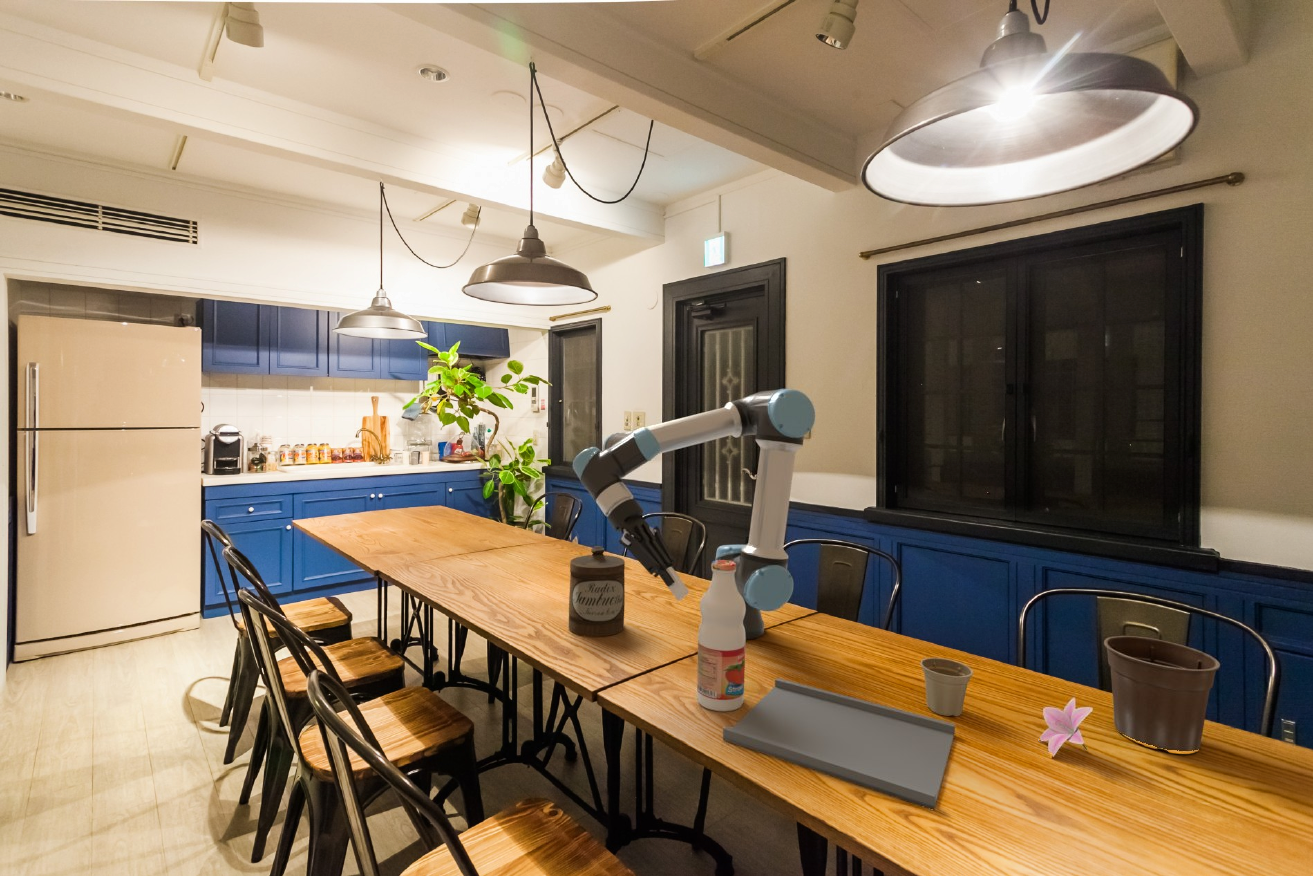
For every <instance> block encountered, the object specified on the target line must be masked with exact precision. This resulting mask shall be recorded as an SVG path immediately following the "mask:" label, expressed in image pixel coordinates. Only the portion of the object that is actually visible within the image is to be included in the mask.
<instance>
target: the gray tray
mask: <svg viewBox="0 0 1313 876" xmlns="http://www.w3.org/2000/svg"><path fill="white" fill-rule="evenodd" d="M722 730H723V732H722V740H723V741H725V742H728V743H731V744H734V745H737V746H740V747H743V748H746V749H749V750H752V751H756V752H758V753H761V754H764V755H767V756H770V757H772V758H776V759H778V760H782V761H785V762H788V763H790V764H794V765H798V766H800V767H802V768H805V769H807V770H808V769H809V770H812V771H814V772H818V773H821V774H825V775H826V776H829V777H833V778H835V779H839V780H842V781H845V782H848V783H851V784H854V785H857V786H859V787H863V788H866V789H868V790H872V791H875V792H878V793H881V794H884V795H887V796H890V797H893V798H896V799H899V800H902V801H905V802H907V803H911V804H914V805H916V804H917V806H919V805H920V806H919V807H922V806H924V807H923V808H926V809H928V808H930V809H929V810H931V809H933V810H932V811H935V809H936V806H937V802H936V801H938V797H939V795H940V791H939V790H941V787H942V783H943V780H944V776H943V775H945V771H946V769H945V768H947V765H946V764H948V761H949V757H948V756H950V754H949V753H951V750H950V749H952V746H951V745H953V743H954V739H955V735H956V734H955V732H956V724H955V723H953V722H950V721H949V722H948V721H945V720H940V719H936V718H933V717H930V716H925V715H921V714H917V713H914V712H909V711H906V710H902V709H897V708H895V707H892V706H891V707H890V706H886V705H883V704H880V703H879V704H878V703H876V702H872V701H867V700H865V699H864V700H863V699H859V698H856V697H852V696H847V695H844V694H840V693H836V692H832V691H829V690H826V689H821V688H817V687H813V686H810V685H805V684H803V683H802V684H801V683H799V682H795V681H791V680H786V679H783V678H779V677H777V678H775V680H774V687H772V689H770V691H768V692H767V693H766V695H764V696H763V697H762V699H760V700H759V701H758V702H757V703H756V704H755V705H753V707H752V708H751V709H750V710H749V711H748V712H747V713H746V714H744V716H742V718H741V719H739V721H738V722H736V723H735V725H733V726H727V725H726V726H725V727H724V728H723V729H722ZM954 734H955V735H954ZM953 738H954V739H953ZM952 742H953V743H952ZM947 760H948V761H947ZM942 779H943V780H942ZM938 794H939V795H938ZM935 805H936V806H935Z"/></svg>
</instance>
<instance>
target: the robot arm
mask: <svg viewBox="0 0 1313 876" xmlns="http://www.w3.org/2000/svg"><path fill="white" fill-rule="evenodd" d="M815 421H816V409H815V406H814V404H813V402H812V401H811V400H810V398H809V396H807V395H806V394H805V393H804V392H803V391H800V390H797V389H793V388H791V389H790V388H779V389H773V390H762V391H757V392H756V393H752V394H751V395H748V396H745V397H743V398H739V399H737V400H733V401H732V400H731V401H729V402H726V404H724V407H720V408H717V409H712V410H709V411H705V412H701V413H700V412H699V413H697V414H692V415H689V416H685V417H681V418H676V419H672V420H669V421H665V422H661V423H657V424H652V425H649V426H642V427H640V428H638V429H637V428H636V429H634V430H628V431H625V432H616V433H612V434H610V435H609V436H607V438H605V440H604V442H603V445H602V450H601V449H599V448H598V447H596V446H591V447H588V448H585V449H584V450H582V451H581V452H579V453H578V454H577V455H576V456H575V458H574V459H573V461H572V469H573V471H574V472H575V474H576V476H577V477H578V479H579V481H580V483H581V484H582V485H583V487H584V488H585V489H586V491H588V493H589V494H590V496H591V498H592V499H593V501H594V502H595V503H596V504H597V506H598V508H600V510H601V512H602V513H603V515H604V516H605V517H607V521H608V522H609V523H610V525H611V526H612V528H613V529H614V531H616V532H621V535H622V537H620V539H619V540H618V542H619V544H621V545H622V546H623V547H624V548H626V549H627V550H628V551H629V553H631V555H632V556H633V557H634V558H635V559H636V560H637V561H638V563H640V564H641V565H642V567H644V569H645V570H646V571H647V572H648V573H649V574H650V575H653V577H654V578H658V577H659V576H660V578H661V580H662V581H663V583H664V584H665V586H667V588H668V589H669V591H670V592H671V594H672V595H673V596H674V597H675V599H676V600H677V602H679V601H682V600H683V599H684V598H685V597H687V595H688V594H689V593H690V590H689V589H688V588H687V586H686V585H685V584H684V582H683V581H682V579H681V577H680V576H679V574H678V573H677V572H676V570H675V569H674V568H673V566H674V565H675V564H676V559H675V558H674V556H673V553H672V552H671V551H670V548H669V547H668V545H667V543H666V541H665V540H664V538H663V536H662V534H661V530H660V528H659V527H658V526H654V527H651V526H650V524H649V523H648V522H647V521H646V520H645V519H644V517H643V515H644V510H643V508H642V507H641V505H640V504H639V502H638V501H637V499H634V495H633V494H632V493H631V491H630V490H629V488H628V486H626V484H625V483H624V481H622V479H623V478H625V477H626V476H627V475H629V474H630V473H632V472H634V471H635V470H637V469H638V468H640V467H642V466H643V465H645V464H646V463H648V462H651V461H652V460H653V459H654V458H655V457H657V456H658V455H660V454H663V453H664V454H665V453H668V452H671V451H675V450H678V449H682V448H687V447H691V446H694V445H699V444H702V443H707V442H710V441H713V440H714V441H715V440H718V439H722V438H725V437H728V436H732V437H734V438H737V439H738V438H740V437H744V436H751V435H753V436H755V440H754V441H755V442H756V443H757V445H758V446H759V447H760V448H759V449H760V451H759V458H758V467H757V474H756V481H755V490H754V497H753V506H752V512H751V519H750V529H749V535H748V543H746V544H723V545H720V546H718V547H717V549H716V554H715V560H714V561H716V560H728V561H733V562H735V563H736V572H735V573H734V577H735V583H736V586H737V589H738V591H739V593H740V594H741V596H742V597H743V599H744V601H745V605H746V612H745V616H744V619H743V626H744V628H745V637H746V640H754V639H758V638H760V637H762V636H763V635H764V633H765V623H764V620H763V616H762V613H761V612H774V611H777V610H779V609H780V608H782V607H783V605H785V604H787V602H788V601H789V600H790V598H791V597H792V595H793V591H794V579H793V576H792V575H791V573H790V572H789V570H788V564H789V555H788V553H787V552H786V551H785V550H784V549H785V548H784V545H785V544H784V543H785V537H786V530H787V522H788V513H789V506H790V498H791V490H792V484H793V483H792V482H793V476H794V466H795V459H796V452H797V451H799V450H800V449H802V448H803V446H804V439H805V436H806V435H807V434H808V433H809V432H810V431H811V430H812V429H813V427H814V424H815Z"/></svg>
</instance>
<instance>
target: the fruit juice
mask: <svg viewBox="0 0 1313 876" xmlns="http://www.w3.org/2000/svg"><path fill="white" fill-rule="evenodd" d="M711 571H712V578H711V582H710V584H709V587H708V589H707V590H706V591H705V593H704V594H703V595H702V596H701V598H700V600H699V601H700V602H699V603H700V604H699V613H700V615H701V622H700V624H699V627H698V635H697V663H696V664H697V666H696V667H697V669H696V700H697V703H698V704H699V705H700V706H702V707H703V708H706V709H708V710H711V711H716V712H732V711H735V710H738V709H740V708H741V707H742V705H743V703H744V698H745V672H746V671H745V669H746V668H745V667H746V666H745V665H746V660H745V659H746V644H747V643H746V640H747V639H746V637H745V628H744V626H743V619H744V616H745V612H746V605H745V601H744V599H743V597H742V596H741V594H740V593H739V591H738V589H737V586H736V583H735V577H734V573H735V572H736V563H735V562H733V561H728V560H712V562H711Z"/></svg>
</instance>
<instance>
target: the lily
mask: <svg viewBox="0 0 1313 876" xmlns="http://www.w3.org/2000/svg"><path fill="white" fill-rule="evenodd" d="M1093 709H1094V708H1093V707H1091V706H1085V707H1084V706H1083V707H1079V708H1076V698H1075V697H1072V698H1071V699H1070V700H1069V701H1068V702H1067V704H1066V705H1065V707H1064V709H1063V710H1062V709H1060V708H1057V707H1052V706H1046V707H1043V710H1042V714H1043V718H1044V720H1045V723H1046V725H1047V726H1048V728H1047V729H1046V730H1045V731H1044V732H1043V733H1042V734H1041V735H1040V736H1039V738H1040V739H1041V741H1040V742H1047V741H1048V745H1047V749H1048V751H1049V752H1051V753H1052V754H1053V757H1055V755H1056V754H1057V752H1058V751H1059V749H1060V748H1061V747H1062V745H1063V744H1064V743H1065V742H1066V741H1067V742H1070V743H1073V744H1078V745H1082V746H1083V748H1084V750H1085V749H1086V750H1088V748H1087V746H1086V745H1085V744H1084V739H1083V735H1082V733H1081V730H1080V729H1079V725H1081V723H1082V722H1083V720H1084V719H1085V718H1086V717H1088V715H1090V714H1091V712H1092V711H1093ZM1086 750H1085V751H1086ZM1048 751H1047V752H1048ZM1049 752H1048V753H1049Z"/></svg>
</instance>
